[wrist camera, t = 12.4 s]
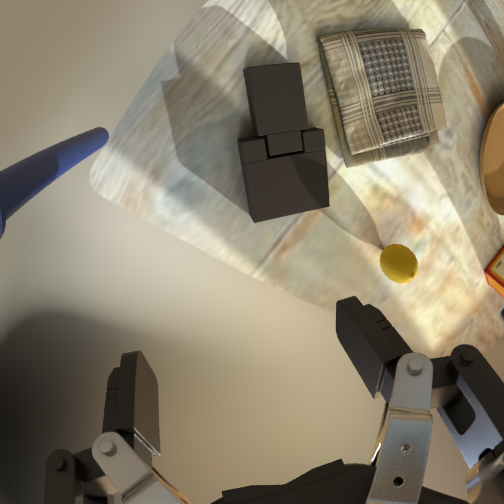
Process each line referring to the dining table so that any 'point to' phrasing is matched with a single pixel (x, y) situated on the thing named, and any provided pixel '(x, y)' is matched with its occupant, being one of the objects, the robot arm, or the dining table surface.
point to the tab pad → (277, 106)
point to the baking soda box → (496, 272)
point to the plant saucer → (493, 161)
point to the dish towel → (382, 93)
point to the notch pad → (285, 177)
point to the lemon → (399, 263)
